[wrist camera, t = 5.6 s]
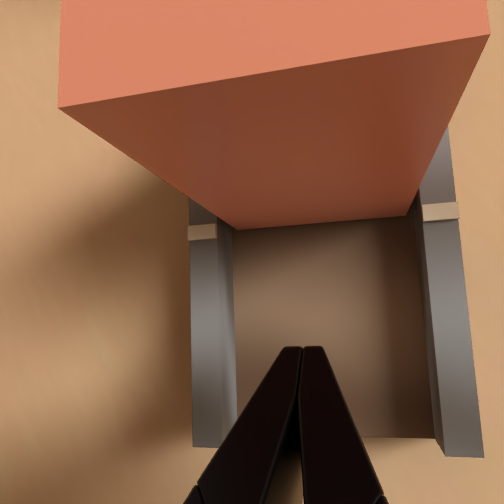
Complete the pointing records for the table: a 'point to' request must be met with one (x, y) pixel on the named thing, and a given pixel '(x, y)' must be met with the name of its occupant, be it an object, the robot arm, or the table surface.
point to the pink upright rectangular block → (273, 97)
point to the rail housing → (341, 316)
